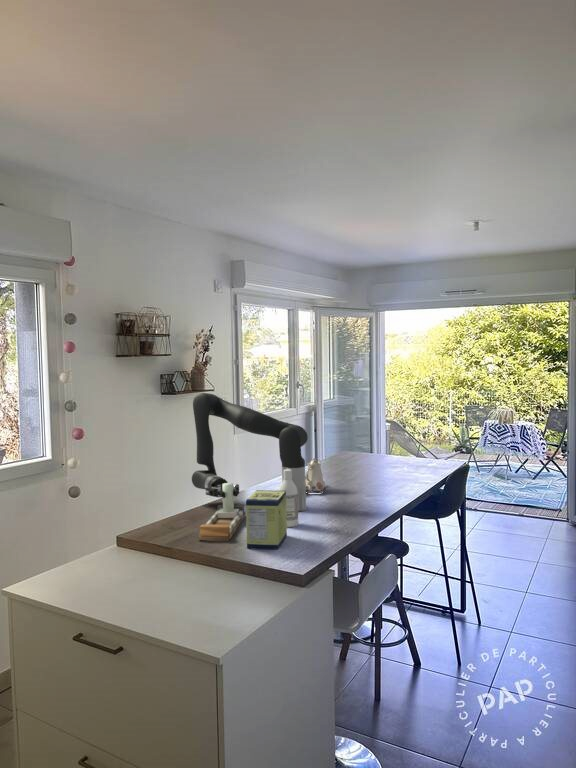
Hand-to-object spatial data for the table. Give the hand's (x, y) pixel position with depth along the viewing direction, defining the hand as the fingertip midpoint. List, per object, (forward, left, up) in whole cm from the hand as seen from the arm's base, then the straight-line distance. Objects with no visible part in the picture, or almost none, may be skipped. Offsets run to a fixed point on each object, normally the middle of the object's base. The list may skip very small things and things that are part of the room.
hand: (230, 494), depth 216 cm
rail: (+1, +7, -11) cm, 12 cm away
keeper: (+1, -2, -9) cm, 9 cm away
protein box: (-17, +23, -11) cm, 30 cm away
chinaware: (-25, -51, -11) cm, 58 cm away
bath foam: (-22, +3, -11) cm, 24 cm away
